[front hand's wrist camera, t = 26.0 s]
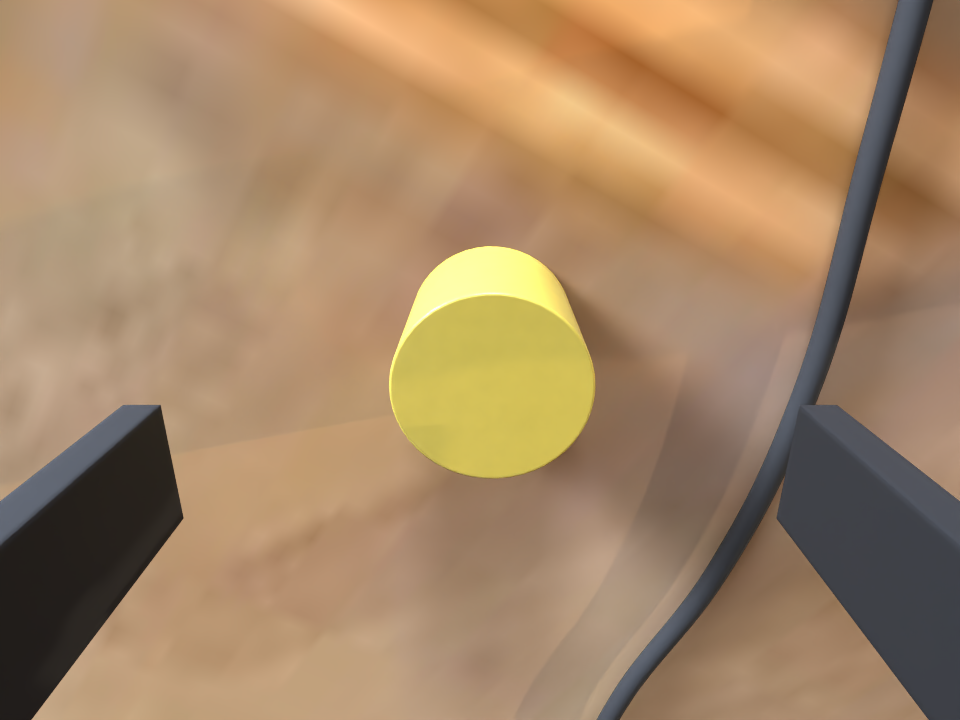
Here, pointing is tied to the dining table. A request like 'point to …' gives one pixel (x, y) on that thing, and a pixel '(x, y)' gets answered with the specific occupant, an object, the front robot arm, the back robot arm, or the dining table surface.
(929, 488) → the front robot arm
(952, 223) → the dining table surface
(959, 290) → the dining table surface
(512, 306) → the cylinder
